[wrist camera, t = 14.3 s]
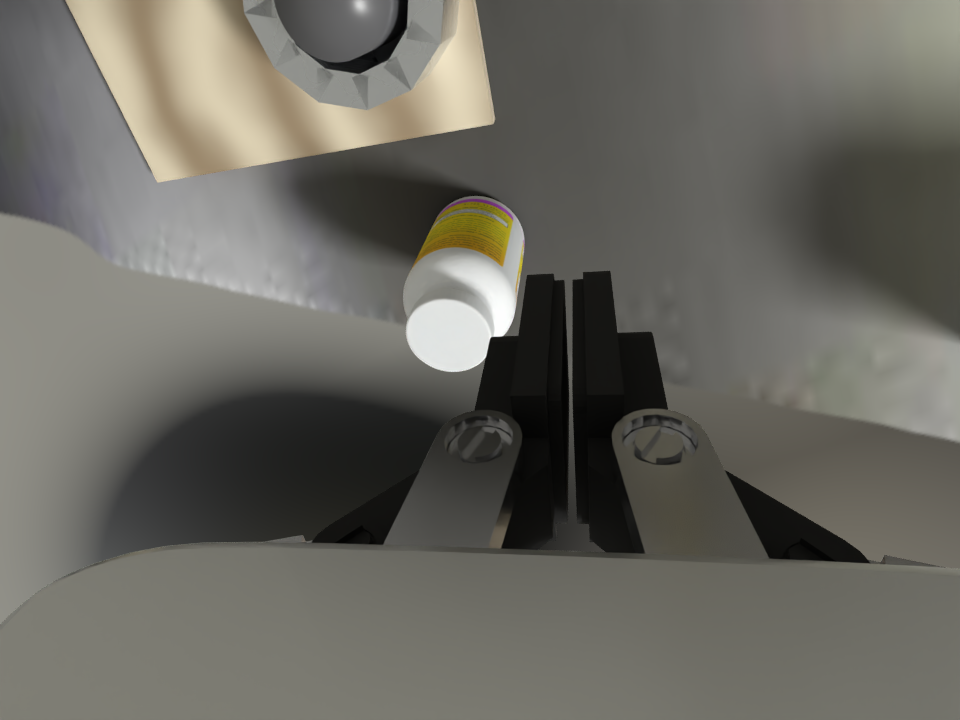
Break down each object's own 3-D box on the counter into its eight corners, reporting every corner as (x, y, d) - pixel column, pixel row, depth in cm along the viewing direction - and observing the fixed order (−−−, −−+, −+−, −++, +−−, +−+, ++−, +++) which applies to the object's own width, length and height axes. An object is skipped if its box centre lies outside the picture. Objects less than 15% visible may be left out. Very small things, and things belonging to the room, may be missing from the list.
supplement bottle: (417, 211, 40) (364, 301, 30) (505, 178, 38) (481, 263, 28) (455, 291, 43) (419, 397, 33) (538, 265, 41) (528, 370, 31)
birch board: (436, -234, 27) (431, -241, 26) (494, 119, 36) (493, 123, 35) (28, -105, 32) (11, -107, 31) (167, 177, 41) (157, 182, 40)
